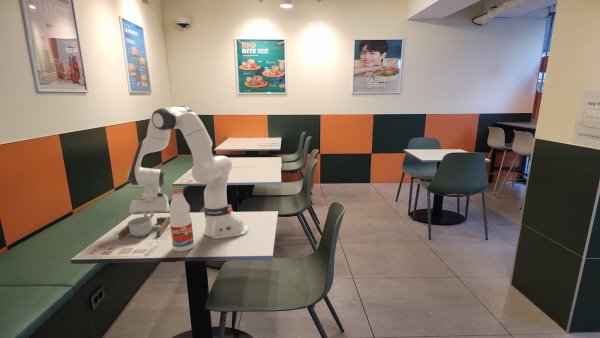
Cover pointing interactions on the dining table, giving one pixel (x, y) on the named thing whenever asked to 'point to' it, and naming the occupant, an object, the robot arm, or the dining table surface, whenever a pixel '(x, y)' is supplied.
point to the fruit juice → (180, 222)
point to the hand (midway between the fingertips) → (147, 220)
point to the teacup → (140, 226)
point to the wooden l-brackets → (165, 223)
